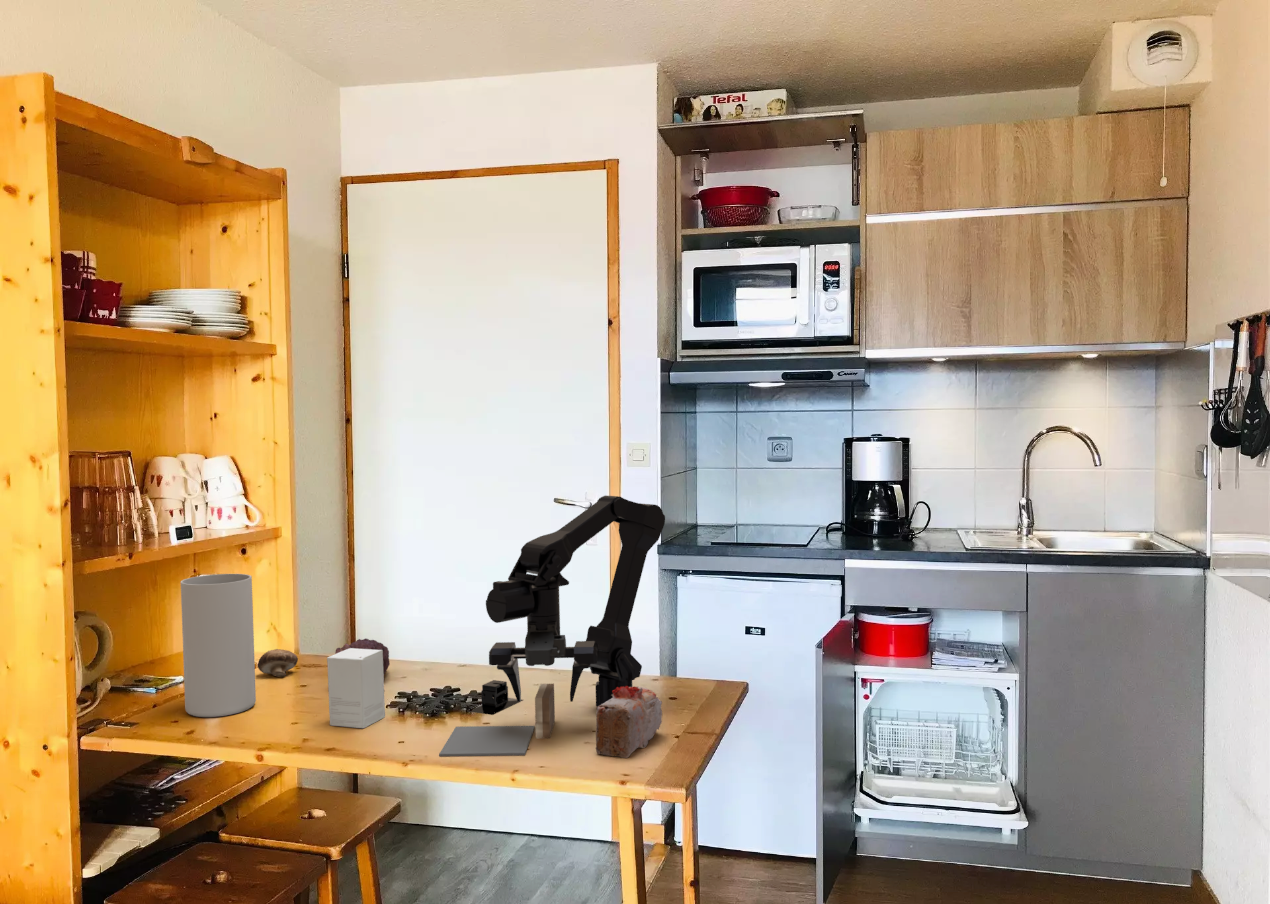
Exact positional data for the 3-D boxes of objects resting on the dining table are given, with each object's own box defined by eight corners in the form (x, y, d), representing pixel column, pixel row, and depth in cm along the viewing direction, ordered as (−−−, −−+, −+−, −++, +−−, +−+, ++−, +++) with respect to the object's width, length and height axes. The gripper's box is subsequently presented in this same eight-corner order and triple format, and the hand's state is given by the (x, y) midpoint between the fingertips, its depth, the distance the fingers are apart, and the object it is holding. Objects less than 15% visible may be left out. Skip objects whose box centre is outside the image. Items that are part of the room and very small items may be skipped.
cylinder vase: (261, 711, 188) (257, 580, 187) (189, 722, 182) (184, 587, 181) (249, 695, 199) (245, 571, 198) (181, 705, 192) (176, 577, 191)
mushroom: (287, 666, 209) (282, 639, 212) (253, 681, 209) (248, 654, 212) (306, 675, 216) (301, 649, 219) (273, 689, 216) (269, 663, 219)
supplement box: (386, 717, 183) (384, 649, 183) (363, 729, 176) (360, 659, 176) (352, 713, 186) (350, 646, 185) (327, 725, 179) (325, 656, 178)
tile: (554, 721, 179) (554, 683, 178) (549, 738, 170) (548, 697, 169) (541, 721, 179) (540, 683, 178) (535, 738, 170) (534, 698, 170)
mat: (534, 727, 175) (534, 725, 175) (524, 755, 161) (524, 752, 161) (455, 728, 176) (455, 726, 176) (439, 756, 162) (439, 753, 162)
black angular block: (491, 720, 182) (490, 694, 181) (457, 715, 185) (456, 690, 185) (530, 701, 193) (529, 676, 193) (497, 696, 197) (496, 672, 197)
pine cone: (359, 669, 217) (384, 631, 218) (391, 696, 214) (416, 656, 214) (311, 667, 201) (338, 626, 201) (344, 696, 197) (372, 653, 198)
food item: (622, 729, 174) (621, 674, 173) (665, 734, 171) (664, 677, 171) (591, 755, 161) (590, 695, 161) (637, 760, 158) (636, 699, 158)
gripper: (482, 624, 166) (484, 716, 166) (594, 622, 165) (595, 714, 166) (493, 610, 177) (495, 697, 177) (597, 608, 176) (599, 695, 177)
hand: (545, 701), depth 174 cm, fingers open, 9 cm apart
